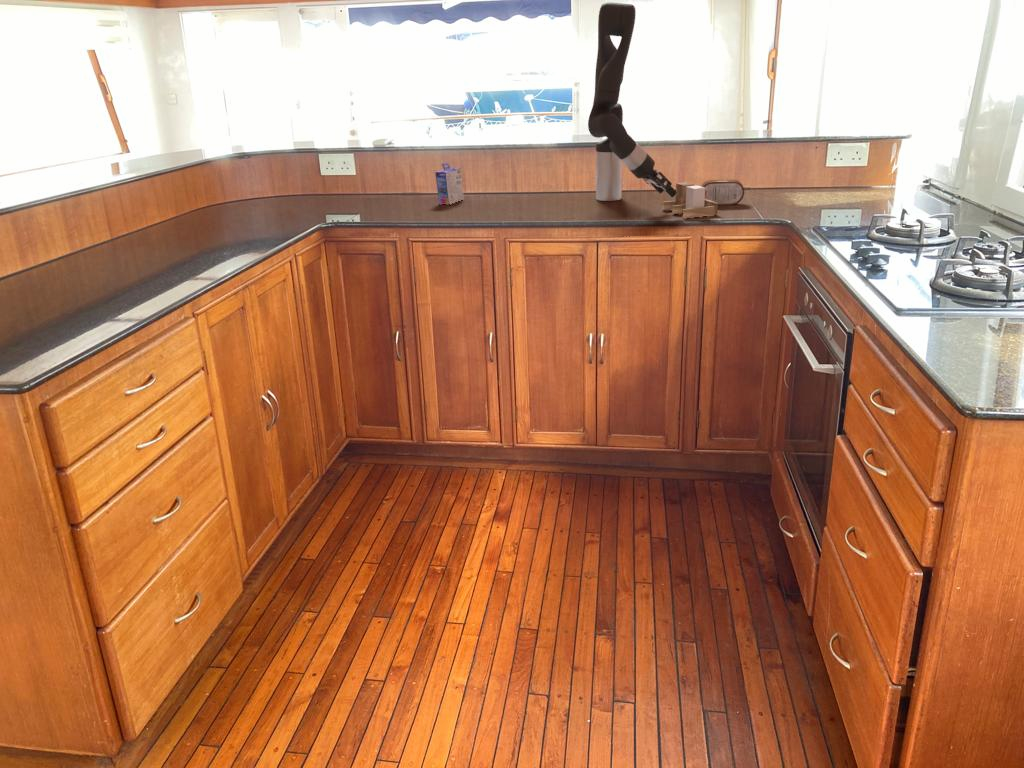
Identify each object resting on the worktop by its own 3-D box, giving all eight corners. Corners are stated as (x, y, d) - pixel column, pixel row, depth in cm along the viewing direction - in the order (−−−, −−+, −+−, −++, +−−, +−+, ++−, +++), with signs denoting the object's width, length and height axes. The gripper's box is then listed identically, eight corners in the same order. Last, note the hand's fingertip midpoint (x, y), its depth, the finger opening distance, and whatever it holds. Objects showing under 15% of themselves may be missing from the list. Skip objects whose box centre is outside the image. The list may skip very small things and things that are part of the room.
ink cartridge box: (452, 199, 308) (450, 161, 303) (464, 200, 306) (461, 161, 300) (437, 204, 301) (434, 165, 295) (449, 205, 298) (446, 165, 292)
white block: (685, 214, 262) (686, 186, 259) (696, 213, 263) (697, 185, 260) (692, 217, 258) (693, 188, 254) (703, 215, 259) (705, 187, 255)
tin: (742, 203, 275) (744, 178, 272) (744, 205, 272) (746, 180, 269) (698, 204, 276) (699, 180, 273) (699, 206, 274) (700, 181, 270)
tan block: (675, 210, 269) (676, 183, 266) (685, 209, 270) (686, 182, 267) (682, 213, 265) (683, 185, 261) (693, 211, 266) (694, 184, 262)
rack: (662, 210, 269) (662, 198, 268) (694, 207, 272) (694, 195, 271) (683, 219, 256) (684, 206, 254) (717, 215, 258) (717, 202, 257)
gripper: (654, 153, 249) (686, 187, 256) (635, 148, 262) (665, 181, 269) (638, 172, 250) (671, 205, 257) (620, 166, 262) (651, 198, 270)
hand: (668, 193), depth 263 cm, fingers open, 8 cm apart
